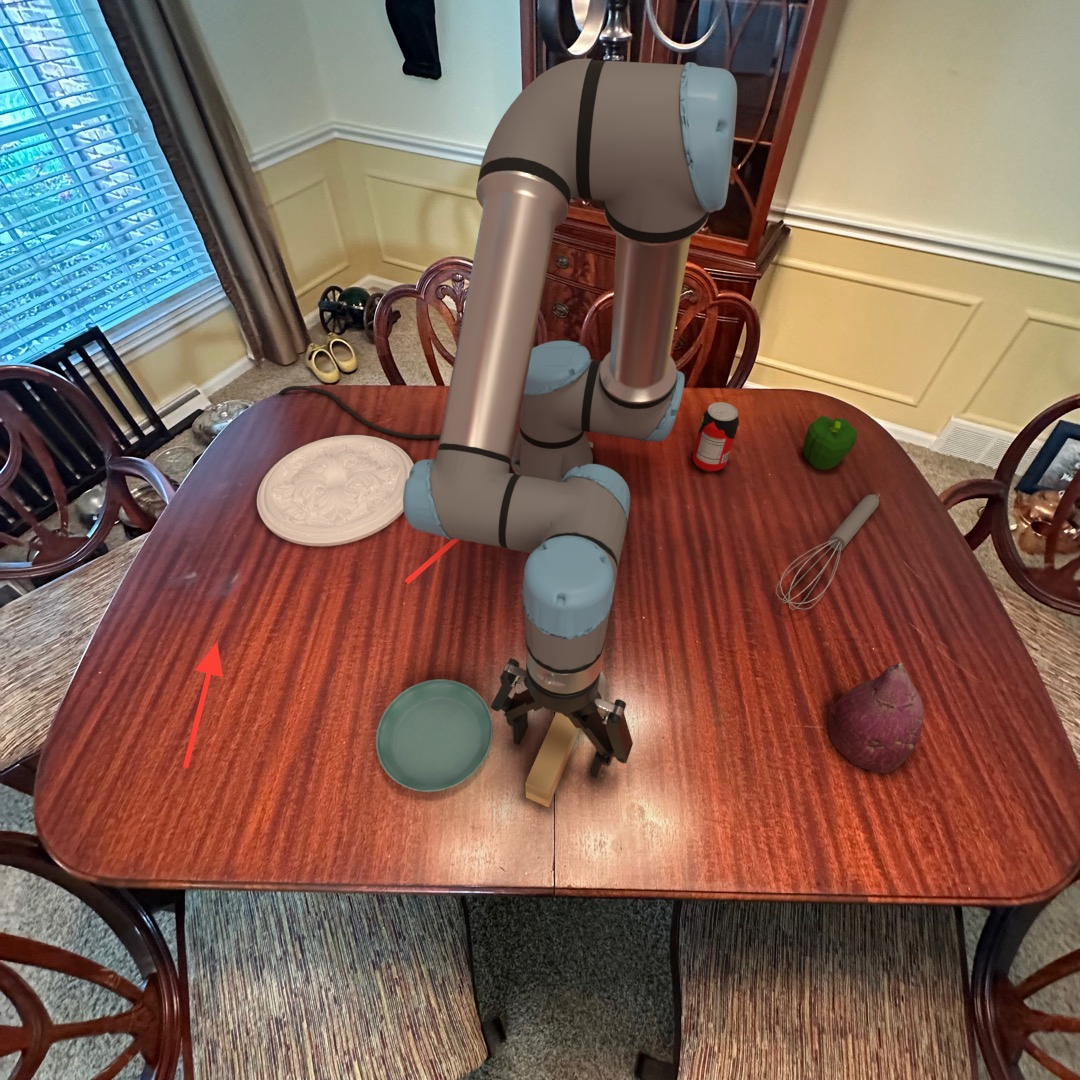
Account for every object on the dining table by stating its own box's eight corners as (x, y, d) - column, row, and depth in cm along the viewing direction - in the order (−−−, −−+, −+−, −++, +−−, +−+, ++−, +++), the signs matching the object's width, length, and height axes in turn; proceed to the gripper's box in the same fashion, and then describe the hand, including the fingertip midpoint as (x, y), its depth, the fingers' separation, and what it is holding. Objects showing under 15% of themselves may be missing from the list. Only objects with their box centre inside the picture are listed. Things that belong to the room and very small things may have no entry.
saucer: (434, 825, 71) (431, 818, 69) (356, 746, 77) (351, 737, 75) (517, 734, 78) (516, 725, 76) (440, 668, 85) (437, 658, 83)
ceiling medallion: (425, 528, 102) (422, 516, 100) (253, 560, 98) (246, 547, 95) (408, 428, 120) (405, 415, 118) (262, 451, 116) (256, 438, 113)
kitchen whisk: (891, 507, 105) (907, 480, 101) (799, 627, 89) (813, 603, 84) (857, 490, 108) (871, 464, 103) (762, 604, 92) (774, 579, 87)
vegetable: (810, 714, 83) (823, 637, 75) (886, 704, 83) (907, 625, 74) (846, 782, 75) (864, 703, 66) (930, 771, 74) (960, 690, 66)
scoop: (561, 813, 72) (562, 799, 68) (513, 791, 74) (511, 777, 70) (610, 687, 83) (614, 669, 79) (567, 670, 84) (568, 652, 81)
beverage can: (732, 464, 113) (749, 412, 104) (710, 479, 110) (726, 427, 101) (706, 447, 116) (720, 395, 107) (684, 461, 113) (696, 409, 104)
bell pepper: (809, 440, 117) (828, 397, 110) (850, 459, 113) (871, 417, 106) (788, 461, 113) (805, 418, 106) (829, 482, 110) (850, 439, 102)
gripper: (446, 653, 61) (467, 743, 77) (662, 739, 55) (633, 816, 71) (480, 598, 65) (493, 694, 82) (683, 671, 59) (651, 758, 76)
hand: (558, 750), depth 77 cm, fingers open, 10 cm apart
